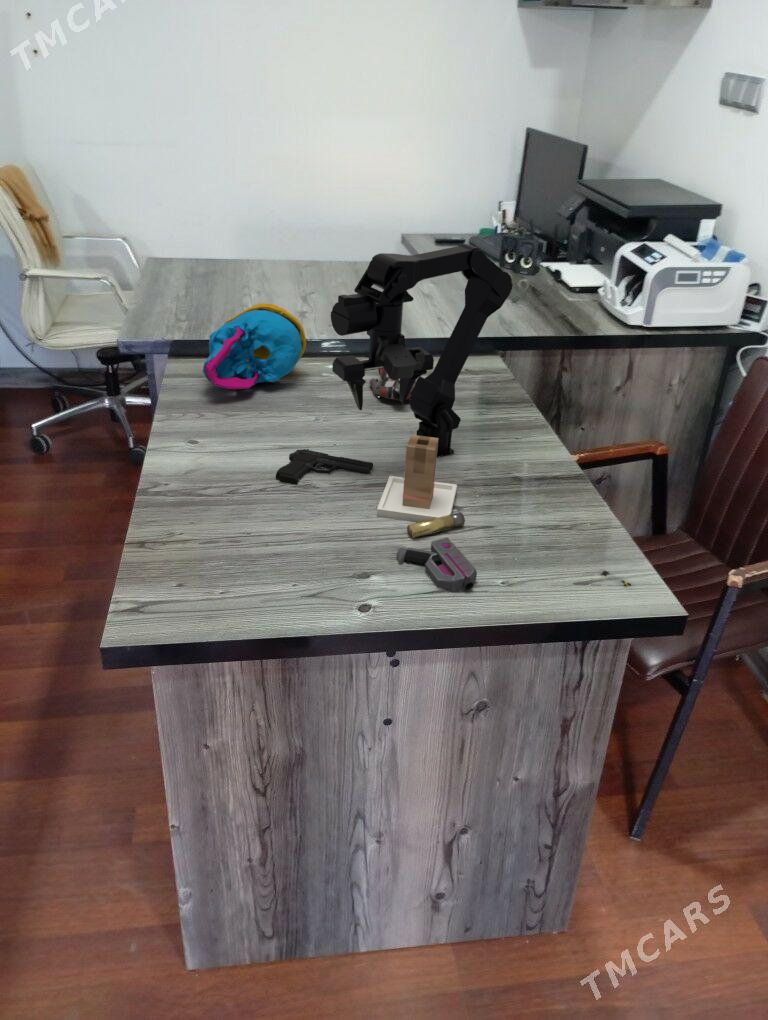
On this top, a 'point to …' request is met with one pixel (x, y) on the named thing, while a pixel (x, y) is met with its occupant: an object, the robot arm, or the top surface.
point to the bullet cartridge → (435, 525)
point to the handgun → (318, 465)
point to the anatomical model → (254, 347)
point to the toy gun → (443, 564)
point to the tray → (394, 509)
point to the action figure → (387, 386)
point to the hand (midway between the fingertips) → (381, 405)
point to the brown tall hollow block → (420, 471)
